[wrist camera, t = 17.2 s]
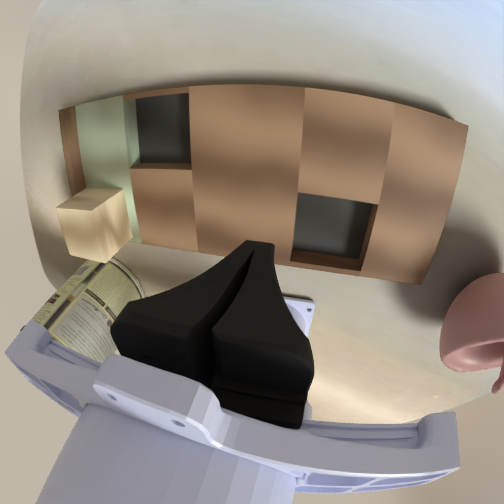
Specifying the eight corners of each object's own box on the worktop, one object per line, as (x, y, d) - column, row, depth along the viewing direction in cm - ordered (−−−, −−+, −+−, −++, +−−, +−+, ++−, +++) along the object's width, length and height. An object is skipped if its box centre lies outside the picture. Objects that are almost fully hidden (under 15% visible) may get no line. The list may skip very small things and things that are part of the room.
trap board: (415, 271, 23) (425, 295, 20) (103, 227, 28) (84, 242, 25) (456, 121, 15) (478, 129, 12) (83, 104, 20) (58, 110, 18)
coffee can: (129, 323, 37) (81, 397, 26) (79, 276, 35) (20, 343, 23) (160, 296, 32) (99, 390, 21) (98, 238, 29) (19, 316, 18)
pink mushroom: (408, 321, 26) (424, 415, 17) (470, 231, 19) (529, 321, 10) (473, 340, 25) (494, 415, 16) (529, 268, 18) (573, 342, 9)
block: (132, 237, 25) (106, 263, 22) (96, 231, 26) (70, 254, 22) (123, 189, 22) (91, 210, 19) (86, 188, 23) (55, 207, 20)
